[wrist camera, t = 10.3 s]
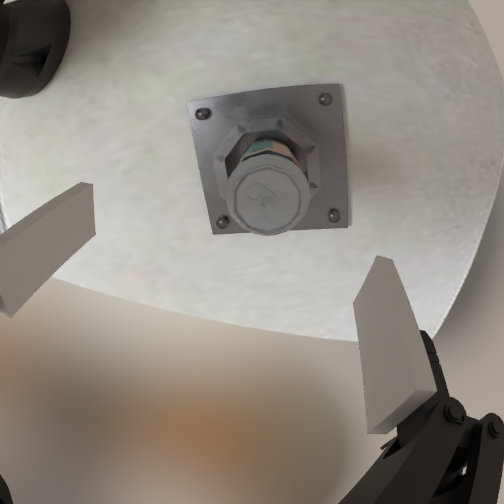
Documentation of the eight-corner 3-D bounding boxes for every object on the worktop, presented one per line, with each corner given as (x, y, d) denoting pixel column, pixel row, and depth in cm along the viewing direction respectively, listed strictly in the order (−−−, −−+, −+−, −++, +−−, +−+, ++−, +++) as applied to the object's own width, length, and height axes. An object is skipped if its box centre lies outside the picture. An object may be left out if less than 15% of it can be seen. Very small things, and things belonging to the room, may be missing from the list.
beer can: (274, 197, 28) (276, 257, 17) (232, 168, 26) (205, 211, 16) (305, 157, 26) (330, 193, 15) (262, 126, 25) (257, 139, 14)
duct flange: (188, 102, 25) (173, 104, 22) (338, 83, 22) (343, 81, 19) (214, 232, 32) (204, 248, 29) (347, 225, 29) (351, 241, 26)
